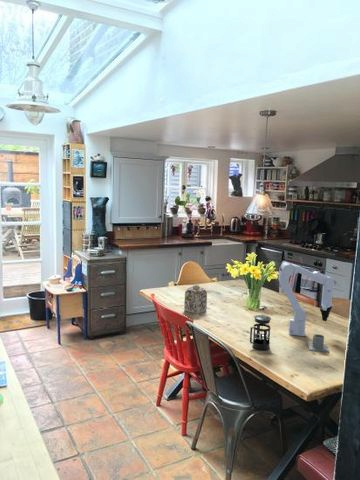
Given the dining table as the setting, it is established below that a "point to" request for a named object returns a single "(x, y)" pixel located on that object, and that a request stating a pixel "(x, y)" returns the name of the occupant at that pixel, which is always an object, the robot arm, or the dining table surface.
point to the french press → (261, 339)
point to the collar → (318, 341)
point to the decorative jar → (195, 300)
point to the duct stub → (311, 348)
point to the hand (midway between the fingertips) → (325, 319)
